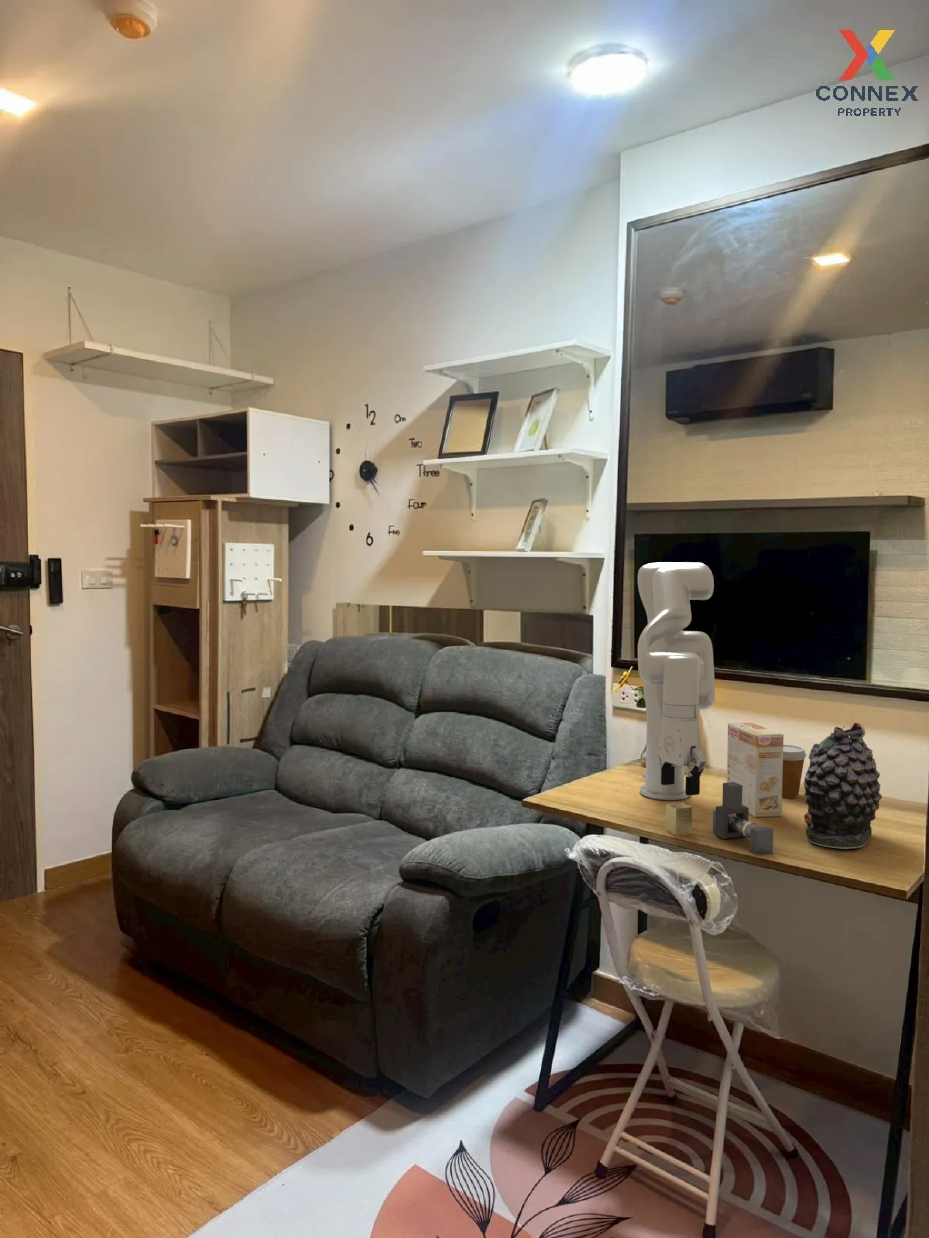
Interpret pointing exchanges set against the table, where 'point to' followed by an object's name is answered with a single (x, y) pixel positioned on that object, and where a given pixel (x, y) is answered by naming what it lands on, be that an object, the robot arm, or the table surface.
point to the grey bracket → (730, 810)
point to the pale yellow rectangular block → (679, 818)
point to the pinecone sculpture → (841, 790)
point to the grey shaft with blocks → (751, 833)
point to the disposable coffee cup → (792, 770)
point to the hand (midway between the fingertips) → (679, 789)
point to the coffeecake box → (756, 767)
